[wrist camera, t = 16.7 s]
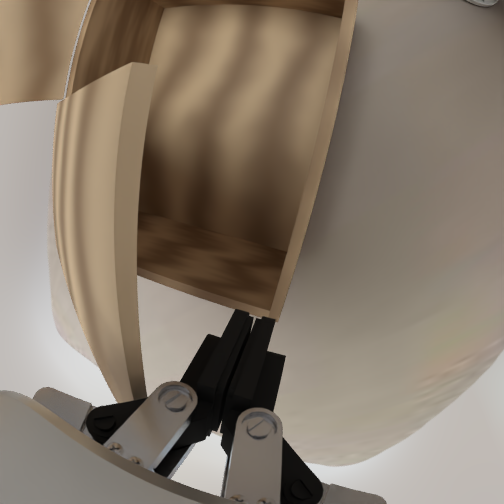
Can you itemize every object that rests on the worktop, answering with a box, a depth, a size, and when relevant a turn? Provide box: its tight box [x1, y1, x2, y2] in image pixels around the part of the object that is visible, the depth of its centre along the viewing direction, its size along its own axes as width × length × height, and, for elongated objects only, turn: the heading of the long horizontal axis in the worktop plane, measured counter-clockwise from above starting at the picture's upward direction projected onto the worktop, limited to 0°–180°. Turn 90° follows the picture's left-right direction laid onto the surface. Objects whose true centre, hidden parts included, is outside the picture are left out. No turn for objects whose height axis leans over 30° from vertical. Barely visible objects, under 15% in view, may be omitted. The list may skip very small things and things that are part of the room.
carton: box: [66, 0, 358, 322], centre depth 21 cm, size 22×28×12 cm
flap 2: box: [52, 62, 158, 403], centre depth 13 cm, size 22×14×1 cm
